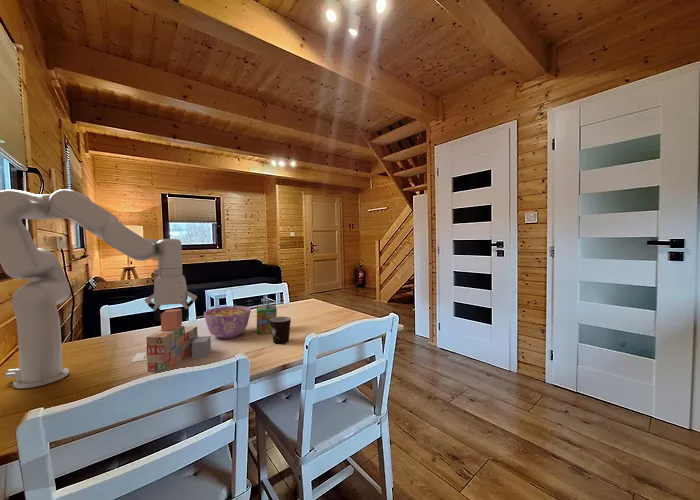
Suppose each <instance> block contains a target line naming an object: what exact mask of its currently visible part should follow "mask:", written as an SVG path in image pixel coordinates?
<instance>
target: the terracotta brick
mask: <svg viewBox="0 0 700 500" xmlns="http://www.w3.org/2000/svg"><path fill="white" fill-rule="evenodd" d="M180 326H183V309H182V308H174V309H166V310H164V311H163V312H162V313H161V320H160V327H161V328H160V330H161V331H168V330H177V329H178V328H179V327H180Z"/></svg>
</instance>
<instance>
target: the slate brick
mask: <svg viewBox="0 0 700 500" xmlns="http://www.w3.org/2000/svg"><path fill="white" fill-rule="evenodd" d="M211 340H212V339H211V335H207V336H206V335H205V336H198V337H196V339H195V340H194V341H193V342H192V353H191V358H192V359H200V358H202V359H203V358H208V356H209V355H210V353H211V351H212V348H211V347H212V346H211V345H212V344H211V343H212V341H211Z"/></svg>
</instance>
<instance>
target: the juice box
mask: <svg viewBox="0 0 700 500" xmlns="http://www.w3.org/2000/svg"><path fill="white" fill-rule="evenodd" d="M277 311H278V309H277V307H276V305H275V304H274V305H273V304H272V305H270V301H269V299H268V300H267V302H266V305H260V306H259V305H258V306H256V334H257V335H258V334H259V335H267V334H266V333H269V334H272V328H271V325H270V320H271V319H272V318H275V317H278V315H277Z"/></svg>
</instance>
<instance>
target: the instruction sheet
mask: <svg viewBox="0 0 700 500" xmlns="http://www.w3.org/2000/svg"><path fill="white" fill-rule="evenodd" d="M144 361H147V351H145V352H137V353H136V354H135V356H134V357H133V359H132V360H131V363H136V362H144Z"/></svg>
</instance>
